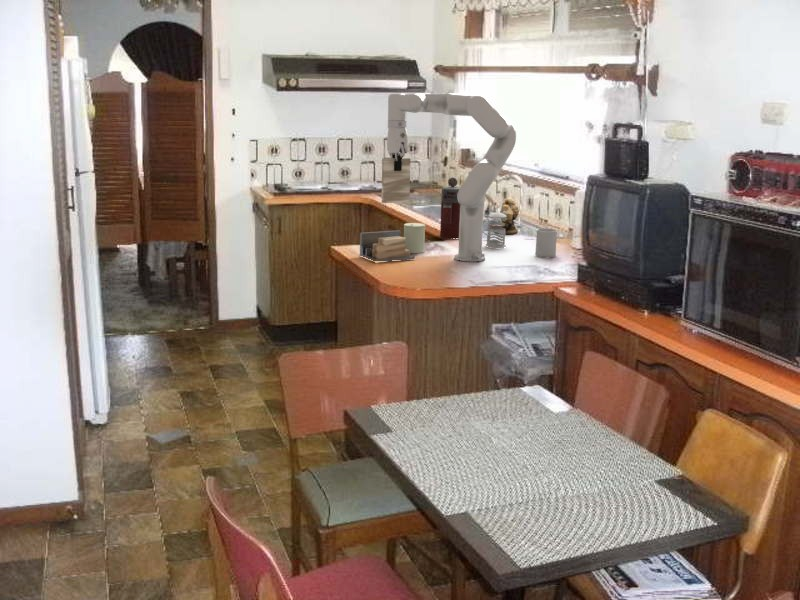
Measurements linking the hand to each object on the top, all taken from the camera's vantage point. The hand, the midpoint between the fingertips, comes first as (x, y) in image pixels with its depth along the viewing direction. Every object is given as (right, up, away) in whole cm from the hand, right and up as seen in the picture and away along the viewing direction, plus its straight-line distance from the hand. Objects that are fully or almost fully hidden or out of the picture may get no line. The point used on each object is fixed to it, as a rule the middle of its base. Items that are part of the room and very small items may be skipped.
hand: (396, 170), depth 366 cm
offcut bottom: (-2, -35, -4) cm, 36 cm away
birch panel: (0, -13, +3) cm, 13 cm away
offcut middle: (-3, -33, -5) cm, 34 cm away
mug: (+64, -34, +15) cm, 74 cm away
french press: (+43, -30, +32) cm, 61 cm away
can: (+7, -33, +16) cm, 37 cm away
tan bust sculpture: (+53, -20, +71) cm, 91 cm away
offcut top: (-2, -31, -5) cm, 31 cm away
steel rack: (-4, -36, -1) cm, 36 cm away
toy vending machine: (+25, -24, +51) cm, 62 cm away
